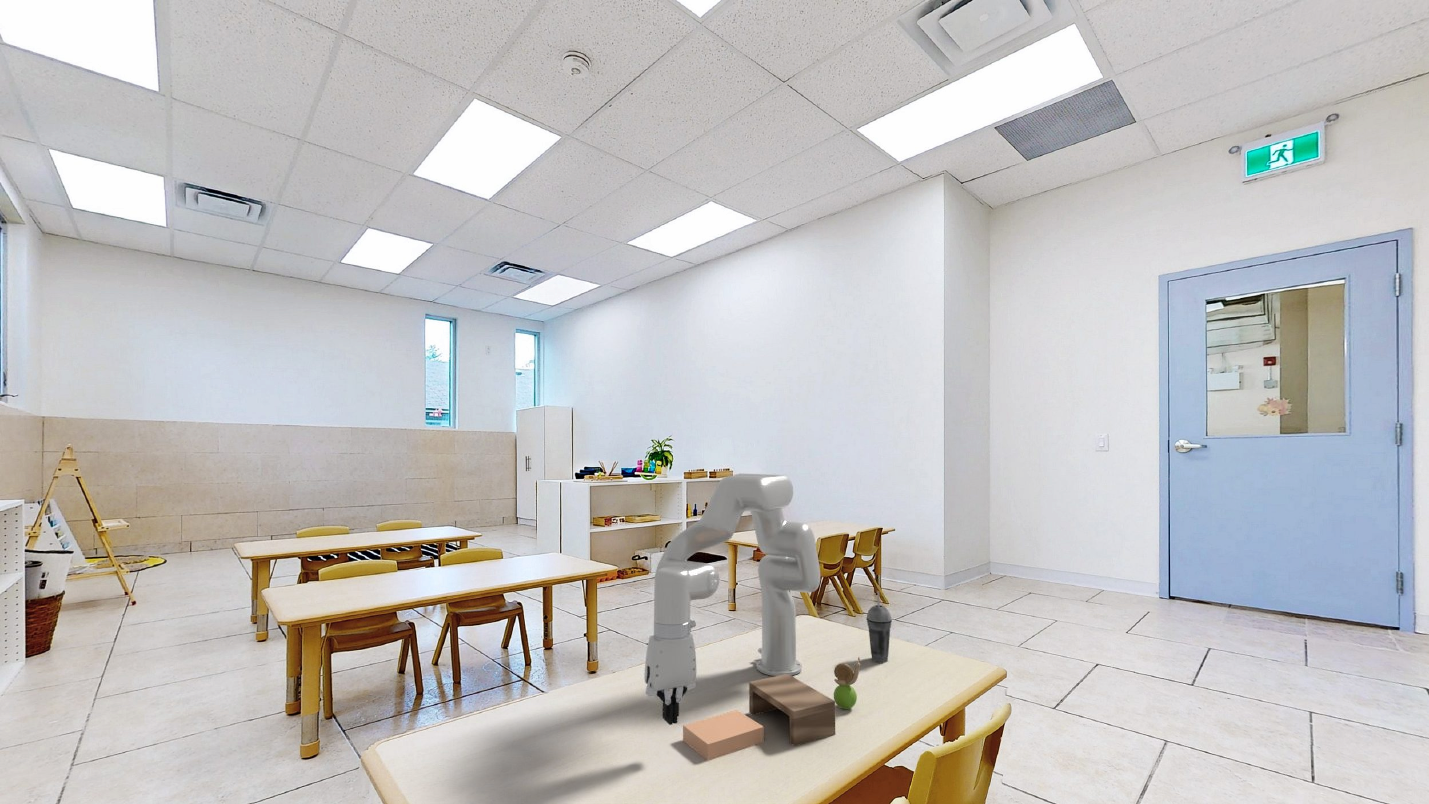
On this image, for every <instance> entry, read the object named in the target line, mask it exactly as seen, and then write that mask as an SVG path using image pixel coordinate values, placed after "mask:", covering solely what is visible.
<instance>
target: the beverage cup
mask: <svg viewBox="0 0 1429 804" xmlns="http://www.w3.org/2000/svg"><path fill="white" fill-rule="evenodd" d="M876 595H877V604H875V605H873V606H871V607H870V608H869V610H868V611H867V615H866V623H867V626H868V636H869V647H870V654H871V660H872V661H873V662H876V663H880V664H881V663H887V662H889V661H888V660H889V659H888V658H889V652H890V651H889V650H890V636H891V627H892V622H893V620H892V616H891V613H890V610H889V609H887V607H886V606H883V605H881V604H880V590H877V594H876Z"/></svg>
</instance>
